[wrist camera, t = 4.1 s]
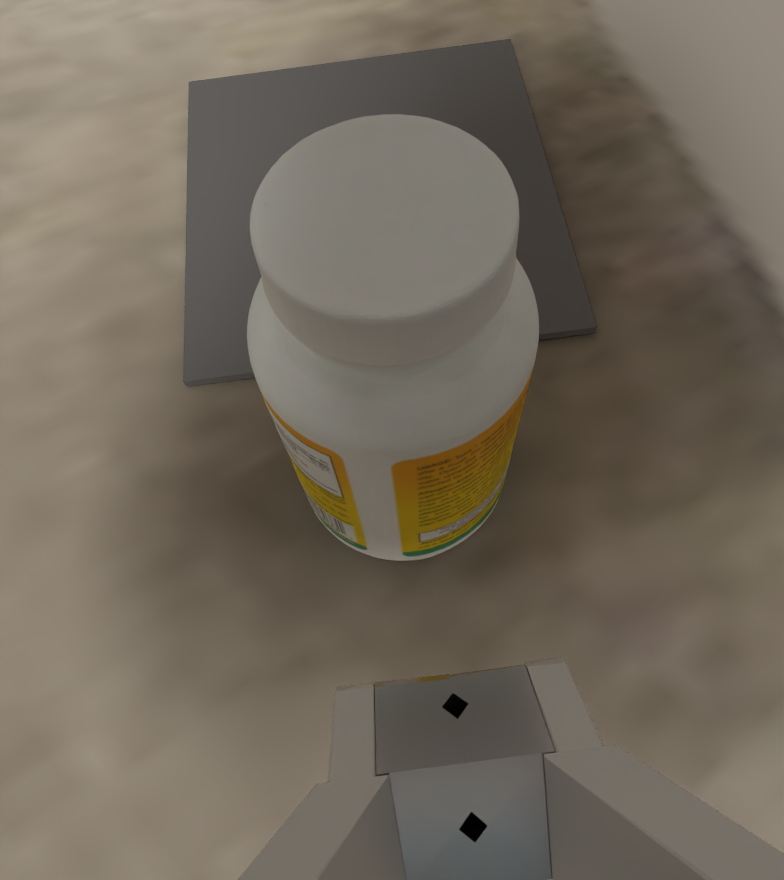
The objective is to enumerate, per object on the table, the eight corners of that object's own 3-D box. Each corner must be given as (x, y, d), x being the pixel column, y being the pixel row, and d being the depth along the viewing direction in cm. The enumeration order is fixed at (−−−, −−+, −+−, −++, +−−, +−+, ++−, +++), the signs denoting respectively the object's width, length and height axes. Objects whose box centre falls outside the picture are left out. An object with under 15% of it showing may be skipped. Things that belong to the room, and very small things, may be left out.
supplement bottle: (284, 547, 18) (143, 334, 9) (330, 372, 20) (251, 70, 12) (493, 582, 17) (548, 386, 9) (516, 396, 19) (580, 94, 11)
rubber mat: (186, 386, 20) (183, 381, 20) (191, 89, 26) (189, 81, 26) (594, 332, 20) (596, 326, 20) (509, 46, 26) (510, 39, 26)
